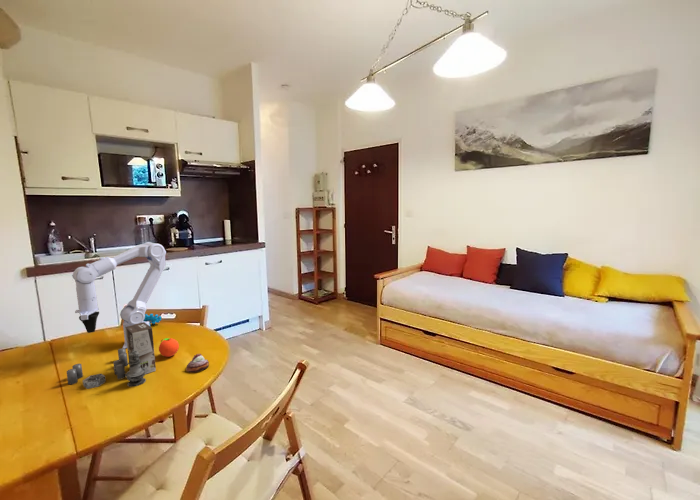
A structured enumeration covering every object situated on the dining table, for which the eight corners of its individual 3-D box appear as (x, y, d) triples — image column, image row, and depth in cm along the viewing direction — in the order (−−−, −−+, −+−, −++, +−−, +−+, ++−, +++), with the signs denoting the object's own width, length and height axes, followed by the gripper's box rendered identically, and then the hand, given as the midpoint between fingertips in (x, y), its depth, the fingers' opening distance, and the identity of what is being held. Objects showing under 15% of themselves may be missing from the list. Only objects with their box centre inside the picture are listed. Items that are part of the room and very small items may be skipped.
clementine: (153, 357, 127) (151, 340, 126) (169, 350, 133) (167, 333, 132) (168, 361, 124) (166, 343, 123) (183, 353, 130) (182, 336, 129)
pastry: (203, 360, 125) (202, 348, 124) (213, 367, 120) (213, 354, 119) (182, 369, 119) (181, 356, 118) (192, 376, 114) (191, 362, 113)
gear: (165, 319, 163) (156, 310, 155) (164, 330, 160) (155, 322, 152) (141, 324, 161) (131, 315, 153) (139, 335, 158) (129, 327, 150)
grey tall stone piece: (124, 389, 106) (120, 354, 104) (127, 380, 111) (123, 347, 109) (146, 384, 109) (142, 350, 107) (147, 376, 114) (144, 343, 112)
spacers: (131, 357, 127) (130, 346, 126) (125, 378, 112) (123, 366, 112) (78, 367, 120) (76, 355, 119) (63, 390, 105) (62, 378, 104)
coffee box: (156, 370, 117) (152, 327, 115) (136, 377, 113) (131, 333, 110) (148, 362, 124) (144, 321, 121) (129, 368, 119) (124, 326, 116)
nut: (107, 378, 113) (106, 372, 112) (104, 386, 108) (103, 379, 108) (85, 382, 110) (84, 376, 110) (81, 390, 105) (80, 384, 105)
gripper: (79, 294, 129) (83, 327, 132) (68, 305, 117) (72, 340, 119) (101, 292, 133) (104, 324, 135) (92, 302, 120) (97, 337, 122)
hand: (91, 331), depth 127 cm, fingers closed
